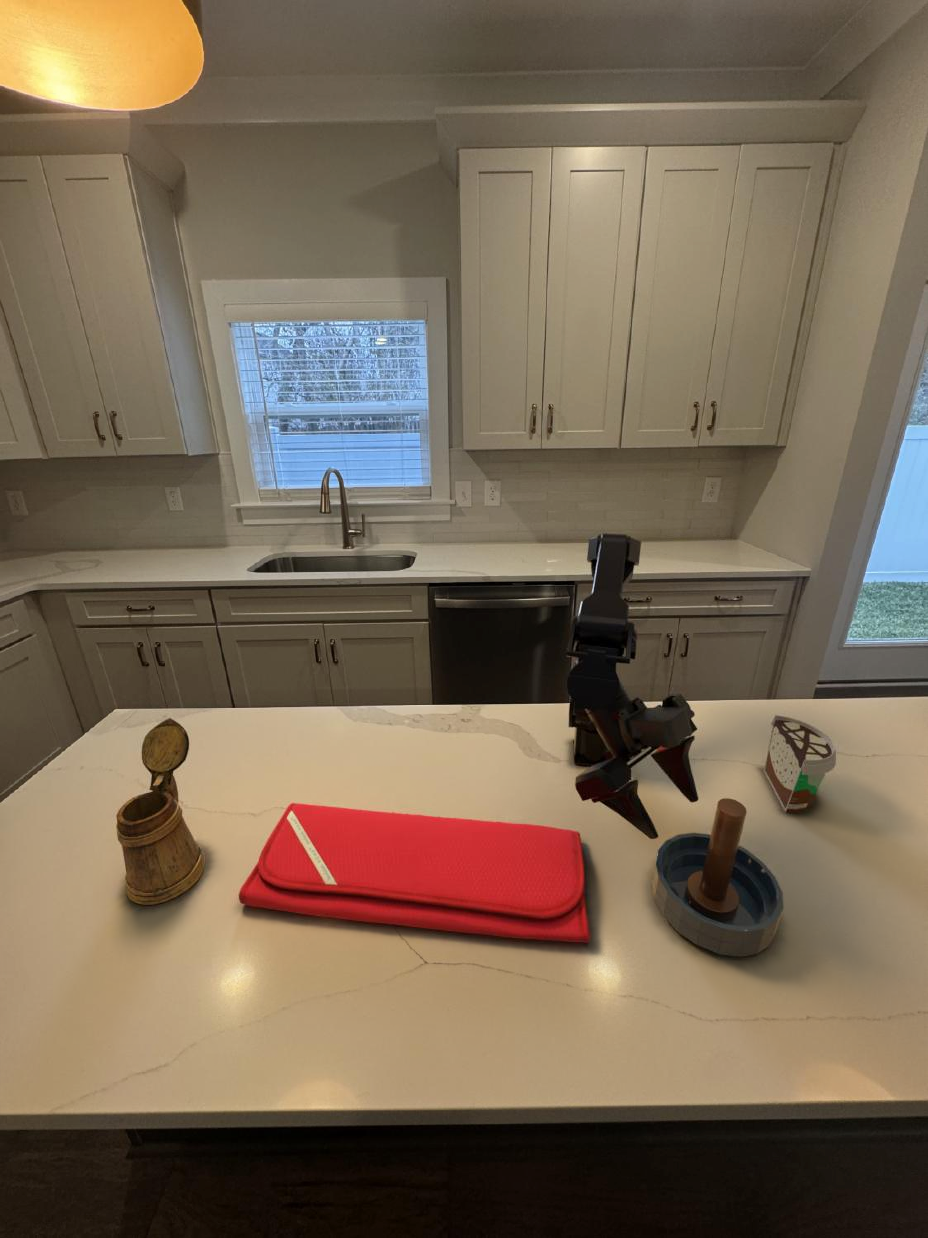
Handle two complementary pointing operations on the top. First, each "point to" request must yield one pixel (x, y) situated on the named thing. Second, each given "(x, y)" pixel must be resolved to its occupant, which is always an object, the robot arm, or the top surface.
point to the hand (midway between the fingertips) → (675, 819)
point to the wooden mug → (159, 825)
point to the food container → (797, 762)
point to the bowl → (748, 878)
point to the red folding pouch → (424, 873)
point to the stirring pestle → (718, 865)
